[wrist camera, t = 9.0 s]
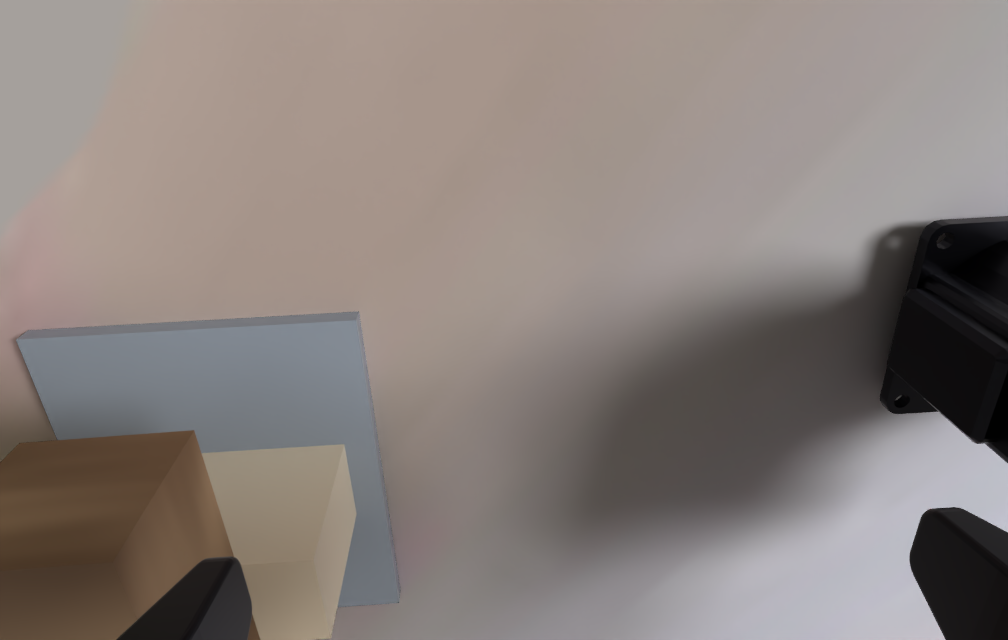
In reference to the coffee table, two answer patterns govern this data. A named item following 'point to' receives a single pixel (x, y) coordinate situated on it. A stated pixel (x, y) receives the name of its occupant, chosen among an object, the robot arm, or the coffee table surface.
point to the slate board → (249, 444)
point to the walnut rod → (101, 532)
